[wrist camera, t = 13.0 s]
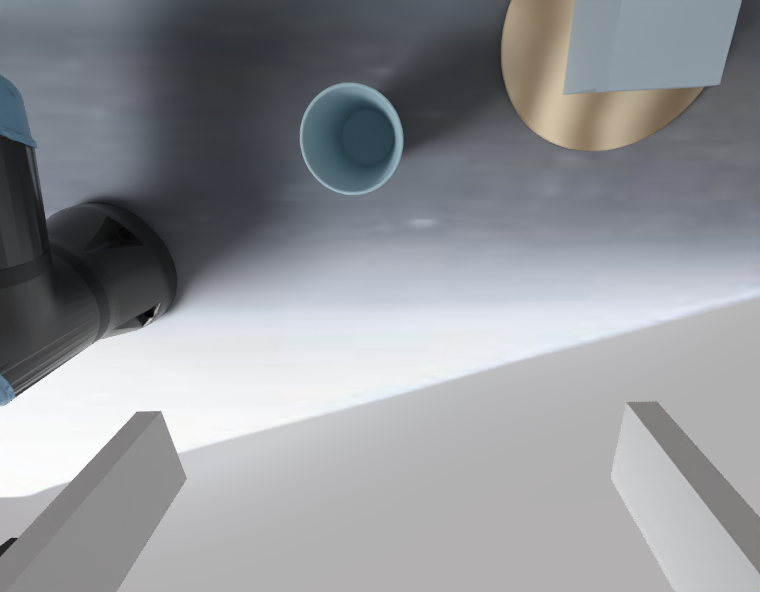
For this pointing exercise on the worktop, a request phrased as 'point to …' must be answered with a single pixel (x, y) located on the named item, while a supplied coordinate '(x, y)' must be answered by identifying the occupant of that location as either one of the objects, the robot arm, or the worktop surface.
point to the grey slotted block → (648, 44)
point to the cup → (351, 138)
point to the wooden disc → (575, 111)
